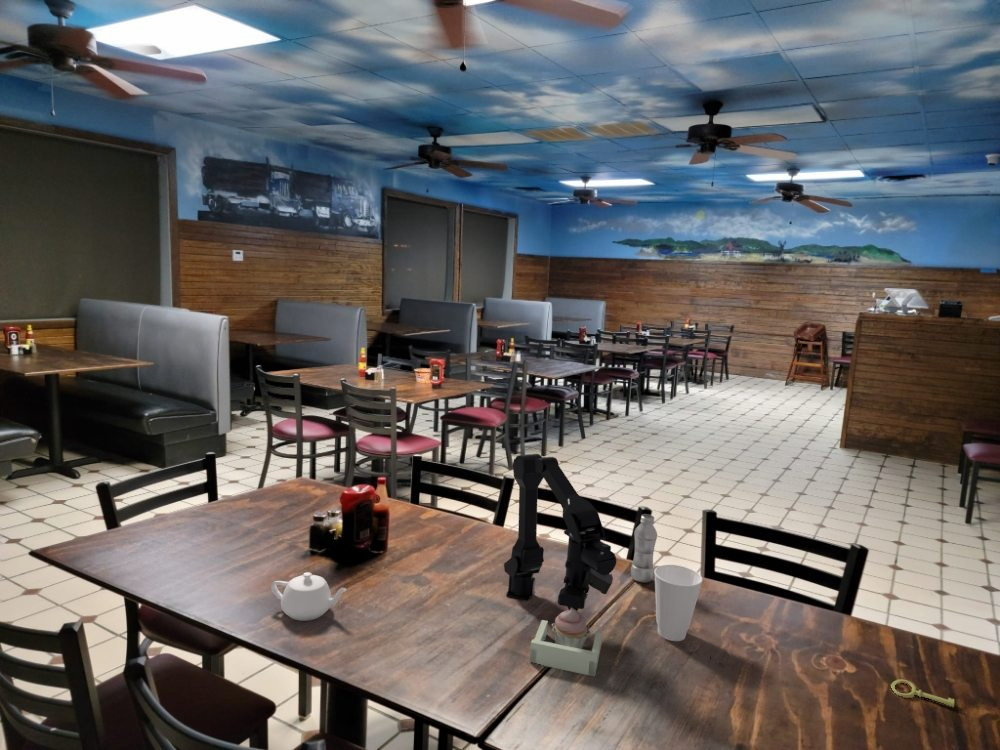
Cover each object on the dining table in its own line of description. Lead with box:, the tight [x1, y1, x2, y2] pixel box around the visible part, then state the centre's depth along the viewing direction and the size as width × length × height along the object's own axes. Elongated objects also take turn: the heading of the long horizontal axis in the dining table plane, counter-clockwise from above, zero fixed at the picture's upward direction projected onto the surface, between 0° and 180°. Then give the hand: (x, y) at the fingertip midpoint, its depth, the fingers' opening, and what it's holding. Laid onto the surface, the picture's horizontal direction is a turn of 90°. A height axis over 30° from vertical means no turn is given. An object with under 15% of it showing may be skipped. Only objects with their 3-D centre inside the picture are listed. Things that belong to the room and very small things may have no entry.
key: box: [890, 679, 955, 708], centre depth 151 cm, size 7×12×2 cm, turn 70°
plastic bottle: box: [630, 513, 658, 584], centre depth 197 cm, size 6×7×20 cm
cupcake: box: [551, 608, 591, 649], centre depth 160 cm, size 9×9×10 cm
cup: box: [653, 564, 704, 642], centre depth 168 cm, size 12×12×16 cm
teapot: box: [270, 572, 347, 622], centre depth 167 cm, size 20×12×10 cm, turn 79°
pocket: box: [529, 619, 603, 677], centre depth 157 cm, size 15×14×5 cm
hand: (573, 616), depth 165 cm, fingers closed
